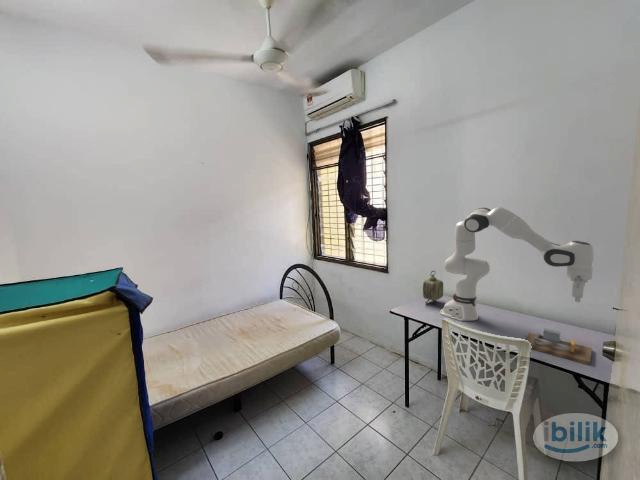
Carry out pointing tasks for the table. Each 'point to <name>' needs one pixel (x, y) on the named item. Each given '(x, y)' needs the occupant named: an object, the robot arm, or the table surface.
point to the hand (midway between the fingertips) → (577, 301)
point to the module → (551, 336)
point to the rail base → (560, 348)
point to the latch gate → (572, 346)
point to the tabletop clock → (432, 289)
